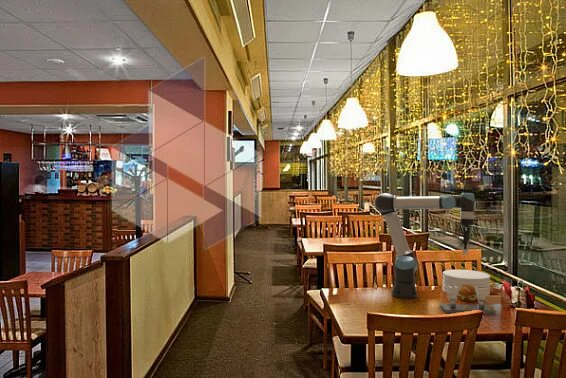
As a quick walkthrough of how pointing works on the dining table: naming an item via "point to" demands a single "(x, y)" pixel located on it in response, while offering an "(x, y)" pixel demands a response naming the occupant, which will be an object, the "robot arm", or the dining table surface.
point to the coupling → (452, 293)
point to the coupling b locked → (487, 296)
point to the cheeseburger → (467, 293)
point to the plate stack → (466, 279)
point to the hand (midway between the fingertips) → (465, 252)
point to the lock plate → (467, 307)
